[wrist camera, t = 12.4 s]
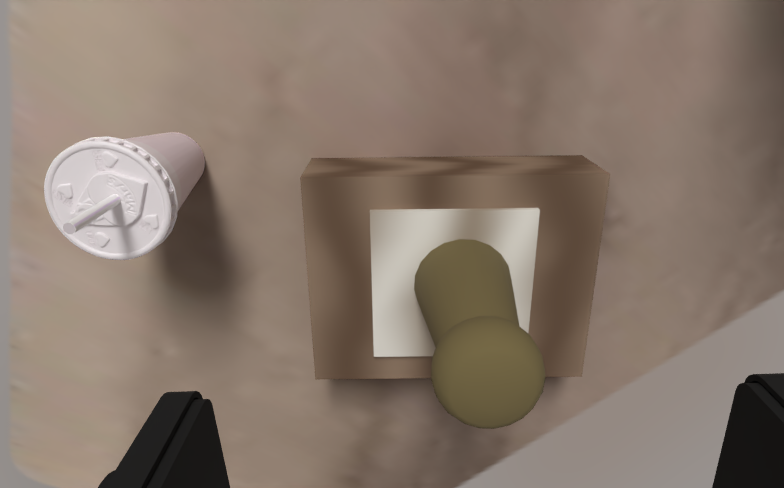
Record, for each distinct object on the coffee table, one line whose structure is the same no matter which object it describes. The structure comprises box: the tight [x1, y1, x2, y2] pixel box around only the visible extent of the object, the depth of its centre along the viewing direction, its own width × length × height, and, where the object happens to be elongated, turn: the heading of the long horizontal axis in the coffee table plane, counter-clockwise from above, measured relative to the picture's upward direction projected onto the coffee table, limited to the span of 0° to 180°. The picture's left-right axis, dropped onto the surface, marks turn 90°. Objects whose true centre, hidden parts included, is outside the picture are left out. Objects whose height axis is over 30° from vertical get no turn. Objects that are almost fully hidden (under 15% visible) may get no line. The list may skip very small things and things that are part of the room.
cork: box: [414, 239, 545, 429], centre depth 29 cm, size 6×6×11 cm
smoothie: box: [44, 132, 205, 260], centre depth 30 cm, size 6×6×14 cm
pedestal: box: [300, 155, 610, 379], centre depth 36 cm, size 18×14×5 cm
